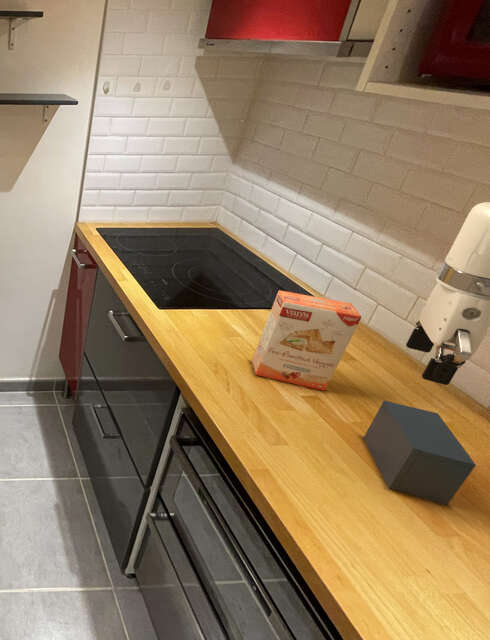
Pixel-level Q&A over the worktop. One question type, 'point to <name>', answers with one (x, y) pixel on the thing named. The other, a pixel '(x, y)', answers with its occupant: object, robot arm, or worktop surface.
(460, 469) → the grey open box
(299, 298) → the cracker box
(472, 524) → the worktop surface
